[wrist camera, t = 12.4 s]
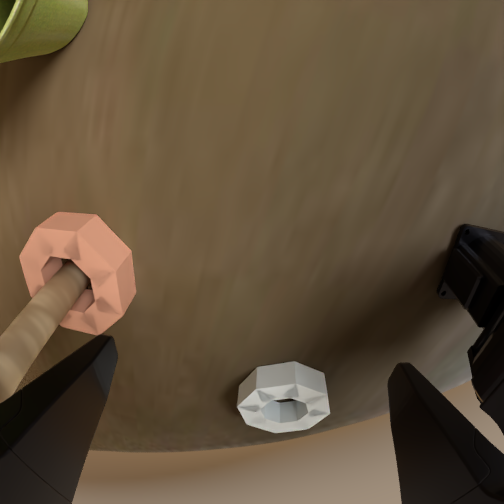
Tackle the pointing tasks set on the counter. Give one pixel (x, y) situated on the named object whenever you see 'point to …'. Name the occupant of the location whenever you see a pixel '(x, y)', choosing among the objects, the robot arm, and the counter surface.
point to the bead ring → (82, 267)
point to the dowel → (38, 325)
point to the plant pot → (38, 26)
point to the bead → (283, 397)
